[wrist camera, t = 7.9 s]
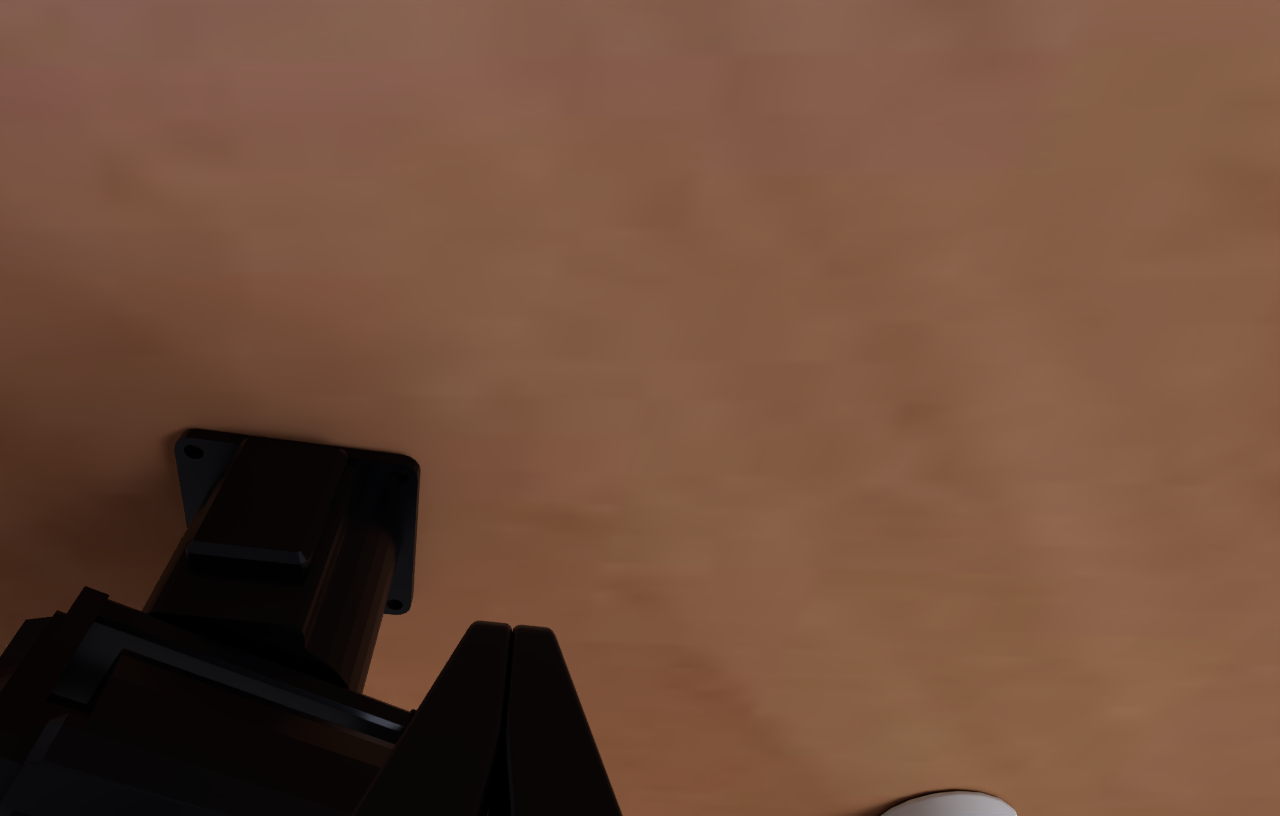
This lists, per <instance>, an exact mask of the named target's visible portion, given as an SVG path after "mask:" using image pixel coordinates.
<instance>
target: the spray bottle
mask: <svg viewBox="0 0 1280 816" xmlns="http://www.w3.org/2000/svg"><path fill="white" fill-rule="evenodd" d="M881 816H1017V813H1016V811H1015V810H1014V809H1013V808H1012V807H1011V806H1010V805H1008V804H1007V803H1005V802H1004V801H1003V800H1001V799H1000V798H998V797H994V796H991V795H988V794H984V793H981V792H966V791H953V792H943V793H934V794H930V795H926V796H922V797H918V798H914V799H911V800H908V801H906V802H904V803H902V804H899V805H897V806H895V807H893V808H891V809H889V810H888V811H886V812H885V813H884V814H882V815H881Z"/></svg>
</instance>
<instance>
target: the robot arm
mask: <svg viewBox="0 0 1280 816" xmlns="http://www.w3.org/2000/svg"><path fill="white" fill-rule="evenodd" d="M192 445H195V446H198V447H199V448H201V449H202V450H199V449H196V448H194V447H193V446H192ZM174 450H175V456H176V462H177V468H178V474H179V480H180V486H181V492H182V498H183V504H184V510H185V516H186V522H187V530H186V532H185V534H184V536H183V537H182V539H181V541H180V543H179V545H178V546H177V548H176V550H175V552H174V554H173V555H172V557H171V559H170V561H169V563H168V564H167V566H166V568H165V570H164V572H163V573H162V575H161V577H160V579H159V581H158V582H157V584H156V586H155V588H154V590H153V592H152V593H151V595H150V597H149V599H148V601H147V602H146V604H145V606H144V608H143V610H142V611H139V610H136V609H133V608H131V607H128V606H125V605H123V604H120V603H117V602H114V601H112V600H109V599H108V597H109V596H110V595H108V594H105V593H102V592H100V591H97V590H94V589H92V588H89V587H86V586H85V587H84V588H83V590H82V591H81V593H80V594H79V596H78V597H77V599H76V600H75V602H74V603H73V605H72V606H71V608H70V609H69V611H68V612H67V614H66V613H63V612H61V611H58V610H57V611H56V612H55V614H54V615H53V617H46V618H37V619H28V620H25V622H24V623H23V625H22V626H21V627H20V629H19V630H18V632H17V633H16V635H15V636H14V638H13V639H12V641H11V642H10V644H9V645H8V646H7V648H6V649H5V651H4V652H3V654H2V655H1V657H0V816H623V815H622V813H621V810H620V807H619V805H618V802H617V799H616V797H615V794H614V791H613V789H612V786H611V783H610V781H609V778H608V775H607V773H606V770H605V767H604V764H603V762H602V759H601V756H600V754H599V751H598V748H597V746H596V743H595V740H594V738H593V735H592V732H591V730H590V727H589V724H588V722H587V719H586V716H585V714H584V711H583V708H582V705H581V703H580V700H579V697H578V695H577V692H576V689H575V687H574V684H573V681H572V679H571V676H570V673H569V671H568V668H567V665H566V663H565V660H564V657H563V655H562V652H561V649H560V646H559V644H558V641H557V638H556V636H555V634H554V632H553V631H552V630H551V629H549V628H547V627H538V626H528V625H517V626H516V627H515V628H514V629H513V631H512V628H511V626H510V625H508V624H506V623H498V622H489V621H476V622H474V623H473V624H471V625H470V627H469V628H468V630H467V631H466V633H465V634H464V636H463V638H462V639H461V641H460V642H459V644H458V646H457V647H456V649H455V650H454V652H453V654H452V655H451V657H450V658H449V660H448V662H447V663H446V665H445V666H444V668H443V669H442V671H441V673H440V674H439V676H438V677H437V679H436V681H435V682H434V684H433V685H432V687H431V689H430V690H429V692H428V693H427V695H426V697H425V698H424V700H423V701H422V703H421V705H420V706H419V708H418V709H417V710H414V709H413V710H411V711H410V712H409V711H406V710H404V709H401V708H398V707H396V706H393V705H390V704H388V703H385V702H382V701H380V700H377V699H374V698H372V697H369V696H366V695H364V694H362V693H363V689H364V685H365V681H366V678H367V674H368V670H369V666H370V663H371V659H372V655H373V651H374V647H375V644H376V640H377V636H378V632H379V629H380V625H381V621H382V617H383V614H392V615H401V614H404V613H406V612H407V611H409V610H410V607H411V603H412V599H413V588H414V571H415V554H416V537H417V520H418V503H419V486H420V466H419V464H418V463H417V462H416V460H414V459H413V458H411V457H409V456H405V455H400V454H392V453H384V452H376V451H368V450H360V449H353V448H345V447H337V446H329V445H321V444H313V443H305V442H298V441H290V440H282V439H274V438H266V437H258V436H250V435H243V434H235V433H227V432H219V431H211V430H203V429H189V430H186V431H184V432H183V433H182V435H181V436H180V437H179V439H178V441H177V442H176V444H175V449H174ZM396 471H403V472H405V473H406V474H407V475H401V474H398V473H397V472H396ZM394 599H396V600H394ZM487 813H488V814H487Z"/></svg>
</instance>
